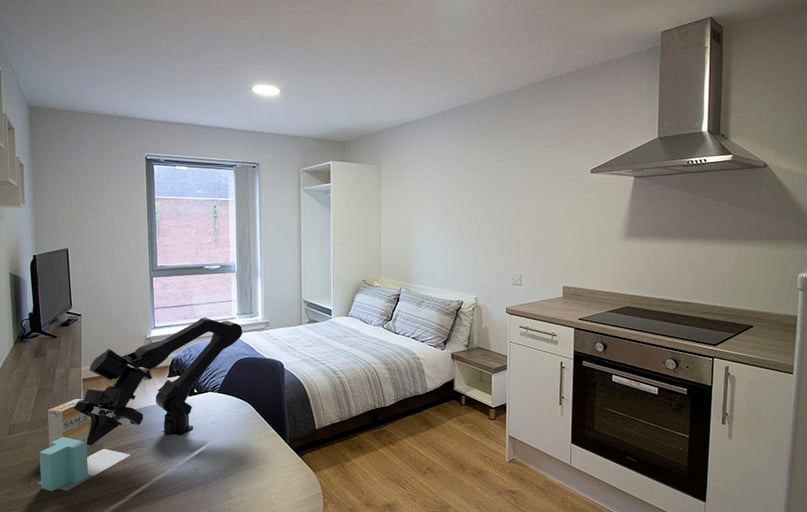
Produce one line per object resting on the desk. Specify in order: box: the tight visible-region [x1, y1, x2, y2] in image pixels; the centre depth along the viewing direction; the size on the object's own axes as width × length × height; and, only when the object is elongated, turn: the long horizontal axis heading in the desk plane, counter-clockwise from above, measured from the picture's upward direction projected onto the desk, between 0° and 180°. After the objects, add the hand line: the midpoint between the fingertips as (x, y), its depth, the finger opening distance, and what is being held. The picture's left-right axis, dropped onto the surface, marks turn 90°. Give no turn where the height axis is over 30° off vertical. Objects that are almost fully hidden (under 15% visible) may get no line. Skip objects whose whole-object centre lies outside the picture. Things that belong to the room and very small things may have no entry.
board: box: [37, 448, 131, 492], centre depth 113 cm, size 17×10×1 cm, turn 163°
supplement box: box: [47, 398, 90, 448], centre depth 123 cm, size 8×5×13 cm, turn 168°
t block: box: [39, 437, 88, 492], centre depth 107 cm, size 7×8×9 cm
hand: (88, 444), depth 113 cm, fingers closed
